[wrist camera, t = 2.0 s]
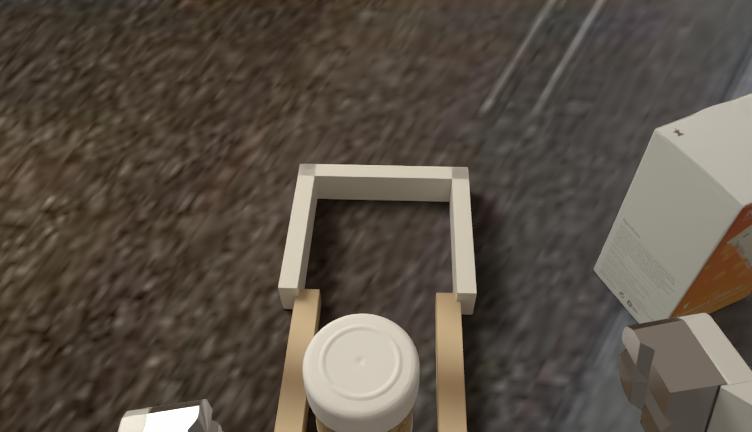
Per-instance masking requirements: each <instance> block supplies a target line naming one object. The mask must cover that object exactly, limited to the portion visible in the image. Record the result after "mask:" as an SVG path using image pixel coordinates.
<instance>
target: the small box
mask: <svg viewBox="0 0 752 432" xmlns="http://www.w3.org/2000/svg"><path fill="white" fill-rule="evenodd" d="M594 271H595V272H596V274H597V275H598V276H599V277H600V279H601V280H602V281H603V282H604V283H605V284H606V286H607V287H608V288H609V289H610V290H611V291H612V293H613V294H614V295H615V296H616V297H617V299H618V300H619V301H620V302H621V303H622V304H623V306H624V307H625V308H626V309H627V310H628V311H629V313H630V314H631V315H632V316H633V317H634V319H635V320H636V321H637V322H638V323H639V324H641V323H646V322H651V321H657V320H662V319H668V318H673V317H676V318H678V317H682V316H688V315H693V314H699V313H706V314H710V313H712V312H715V311H717V310H719V309H721V308H723V307H725V306H728V305H730V304H732V303H734V302H737V301H739V300H741V299H743V298H746V297H747V296H748V295H749V294H750V293H751V292H752V94H749V95H746V96H743V97H740V98H737V99H734V100H731V101H728V102H725V103H722V104H718V105H714V106H712V107H709V108H706V109H704V110H702V111H699V112H697V113H695V114H693V115H691V116H688V117H685V118H683V119H680V120H677V121H675V122H672V123H670V124H667V125H664V126H661V127H658V128H656V129H655V131H654V133H653V135H652V137H651V140H650V142H649V144H648V147H647V149H646V151H645V153H644V156H643V158H642V160H641V163H640V165H639V167H638V169H637V172H636V174H635V176H634V179H633V181H632V183H631V185H630V188H629V190H628V192H627V195H626V197H625V199H624V201H623V204H622V206H621V208H620V211H619V213H618V215H617V218H616V220H615V222H614V224H613V227H612V229H611V231H610V234H609V236H608V238H607V240H606V242H605V245H604V247H603V249H602V251H601V254H600V256H599V258H598V260H597V263H596V265H595V267H594Z"/></svg>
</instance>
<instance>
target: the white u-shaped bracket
mask: <svg viewBox="0 0 752 432" xmlns="http://www.w3.org/2000/svg"><path fill="white" fill-rule="evenodd" d="M317 199H351V200H394V201H437V202H450V226H451V250H452V275H453V293H456V301H460V302H461V314H466V315H473V310H474V305H475V300H476V295H477V290H476V276H475V262H474V247H473V233H472V219H471V204H470V190H469V176H468V167H429V166H381V165H333V164H300V167H299V173H298V179H297V184H296V190H295V196H294V201H293V207H292V213H291V218H290V224H289V230H288V235H287V241H286V247H285V252H284V258H283V264H282V269H281V275H280V280H279V286H278V289H279V293H280V297H281V301H282V305H283V309H293V308H294V301H295V296H299V291H300V289H305V282H306V275H307V268H308V261H309V254H310V247H311V240H312V233H313V226H314V219H315V212H316V205H317Z"/></svg>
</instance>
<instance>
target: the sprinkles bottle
mask: <svg viewBox="0 0 752 432" xmlns="http://www.w3.org/2000/svg"><path fill="white" fill-rule="evenodd" d="M419 368H420V366H419V358H418V354H417V350H416V348H415V346H414V343H413V342H412V340H411V338H410V337H409V335H408V334H407V333H406V332H405V331H404V330H403V329H402V328H401V327H399V326H398V325H397V324H395V323H394V322H392V321H390V320H388V319H386V318H384V317H380V316H377V315H372V314H352V315H348V316H344V317H341V318H338V319H336V320H334V321H332V322H330V323H329V324H327V325H326V326H324V327H323V328H322V329H321V330H320V331H319V332H318V333H317V334H316V335H315V336H314V337H313V339H312V340H311V342H310V344H309V345H308V348H307V350H306V352H305V355H304V359H303V380H304V386H305V391H306V396H307V400H308V402H309V405H310V407H311V409H312V411H313V413H314V414H315V415H316V425H317V430H318V432H412V428H413V416H412V412H413V405H414V403H415V401H416V397H417V393H418V387H419Z"/></svg>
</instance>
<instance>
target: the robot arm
mask: <svg viewBox="0 0 752 432" xmlns="http://www.w3.org/2000/svg"><path fill="white" fill-rule="evenodd" d="M622 341H623V343H624V345H625V347H626V349H625V350H624V351H623V352H622V353H621V354H620V355H619V364H618V368H619V374H620V380H621V383H622V386H623V389H624V392H625V394H626V396H627V398H628V400H629V402H630V403H631V404H633V405H634V406H636V407H638V408H639V409H641V410H642V416H641V421H640V423H641V425H642V427H643V429H644V431H645V432H752V370H751V369H750V368H749V366H748V365H747V364H746V362H745V361H744V360H743V358H742V357H741V356H740V354H739V353H738V352H737V350H736V349H735V348H734V346H733V345H732V344H731V342H730V341H729V340H728V339H727V337H726V336H725V335H724V333H723V332H722V331H721V329H720V328H719V327H718V325H717V324H716V323H715V321H714V320H713V319H712V317H711V316H710V315H708V314H706V313H699V314H693V315H688V316H682V317H678V318H676V317H673V318H668V319H662V320H657V321H651V322H646V323H641V324H635V325H630V326H626V327H625V329H624V330H623V334H622ZM211 416H212V408H211V406H210V405H209V403H208V401H207V399H206V400H198V401H191V402H184V403H177V404H170V405H163V406H156V407H150V408H144V409H137V410H131V411H127V412H126V413H125V415H124V416H123V418H122V419H121V422H120V426H119V429H118V432H223V431H222V429H221V427H220V425H219V423H217V422H215V421H213V420H211Z"/></svg>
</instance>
